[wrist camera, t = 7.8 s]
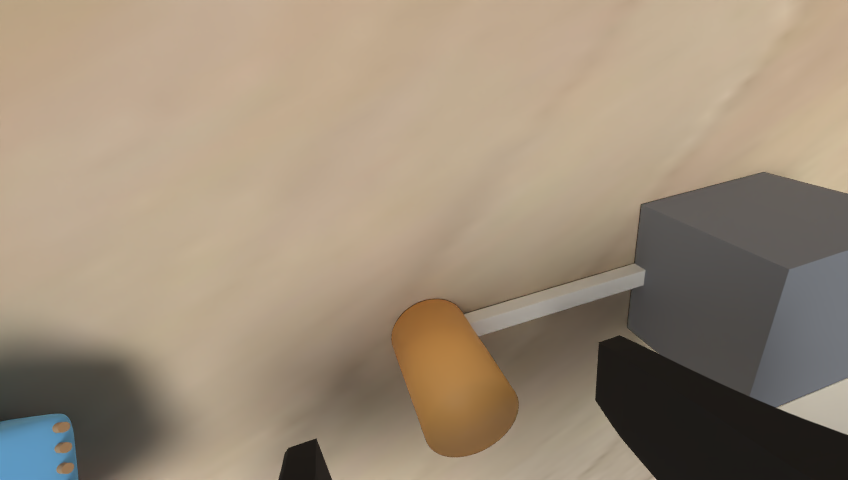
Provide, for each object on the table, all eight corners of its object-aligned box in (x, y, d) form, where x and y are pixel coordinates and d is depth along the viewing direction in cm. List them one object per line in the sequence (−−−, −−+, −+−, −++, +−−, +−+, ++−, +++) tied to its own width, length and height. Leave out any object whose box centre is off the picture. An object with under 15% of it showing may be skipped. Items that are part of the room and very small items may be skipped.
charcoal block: (733, 292, 17) (872, 367, 13) (404, 401, 14) (450, 541, 10) (763, 172, 14) (943, 218, 10) (377, 274, 12) (423, 390, 8)
